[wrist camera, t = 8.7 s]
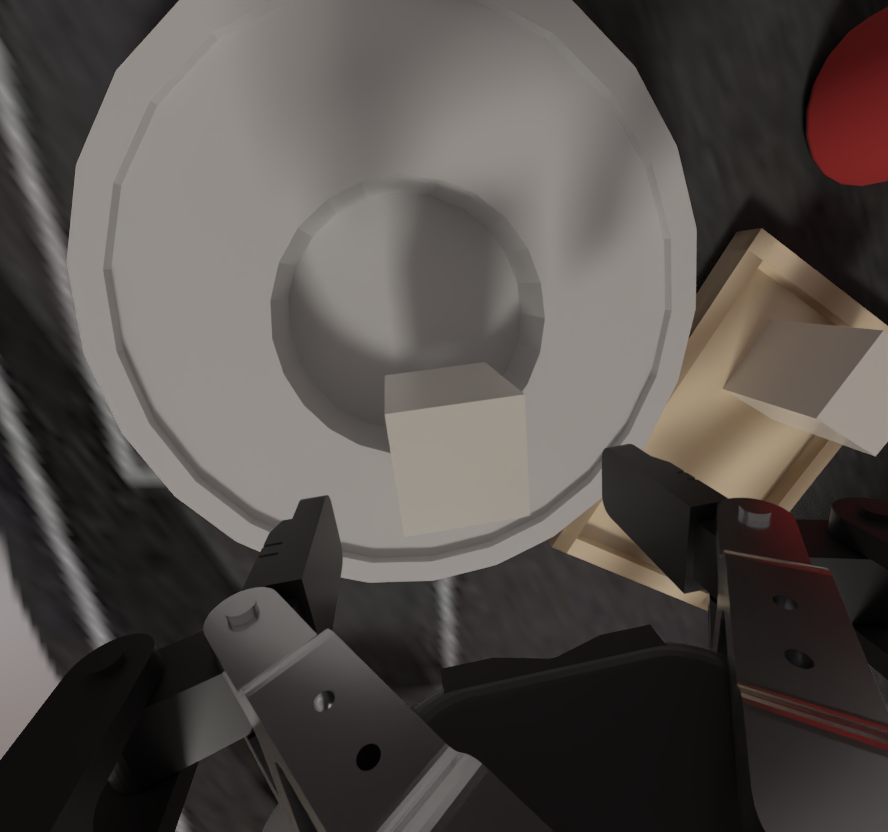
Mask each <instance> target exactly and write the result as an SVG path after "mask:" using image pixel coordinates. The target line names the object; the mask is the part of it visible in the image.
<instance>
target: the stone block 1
mask: <svg viewBox="0 0 888 832" xmlns="http://www.w3.org/2000/svg"><path fill="white" fill-rule="evenodd" d="M384 414H385V421H386V427H387V433H388V440H389V446H390V452H391V458H392V465H393V471H394V477H395V483H396V490H397V496H398V502H399V508H400V515H401V521H402V527H403V534H404V537H409V536H415V535H421V534H427V533H433V532H438V531H444V530H450V529H456V528H462V527H468V526H474V525H480V524H486V523H491V522H497V521H503V520H509V519H515V518H521V517H527V516H530V500H529V477H528V455H527V432H526V409H525V394H524V393H522V392H521V391H520V390H519V389H518V388H516V387H515V386H514V385H513V384H511V383H510V382H509V381H508V380H506V379H505V378H504V377H503V376H501V375H500V374H499V373H498V372H497V371H495V370H494V369H493V368H492V367H490V366H489V365H488V364H487V363H485V362H483V363H475V364H468V365H460V366H453V367H445V368H437V369H430V370H422V371H415V372H407V373H400V374H392V375H385V408H384Z"/></svg>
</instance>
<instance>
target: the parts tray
mask: <svg viewBox="0 0 888 832" xmlns="http://www.w3.org/2000/svg"><path fill="white" fill-rule="evenodd" d="M770 320H781V321H791V322H802V323H812V324H822V325H832V326H843V327H853V328H863V329H873V330H884V331H885V332H886V333H887V334H888V326H887V325H886V324H885V323H883V322H882V321H881V320H879V319H878V318H877V317H876V316H874V315H873V314H872V313H870V312H869V311H868V310H867V309H865V308H864V307H863V306H861V305H860V304H859V303H858V302H856V301H855V300H854V299H852V298H851V297H850V296H849V295H847V294H846V293H845V292H843V291H842V290H841V289H840V288H838V287H837V286H836V285H834V284H833V283H832V282H831V281H829V280H828V279H827V278H825V277H824V276H823V275H822V274H820V273H819V272H818V271H816V270H815V269H814V268H813V267H811V266H810V265H809V264H807V263H806V262H805V261H804V260H802V259H801V258H800V257H798V256H797V255H796V254H795V253H793V252H792V251H791V250H789V249H788V248H787V247H786V246H784V245H783V244H782V243H780V242H779V241H778V240H777V239H775V238H774V237H773V236H771V235H770V234H769V233H768V232H766V231H765V230H764V229H762V228H759V229H752V230H745V231H738V232H736V234H735V235H734V237H733V238H732V240H731V241H730V243H729V244H728V246H727V248H726V249H725V251H724V252H723V254H722V255H721V257H720V258H719V260H718V261H717V263H716V265H715V266H714V268H713V269H712V271H711V272H710V274H709V275H708V277H707V279H706V280H705V282H704V283H703V285H702V286H701V288H700V289H699V291H698V292H697V294H696V310H695V314H694V318H693V322H692V326H691V330H690V334H689V338H688V342H687V347H686V351H685V355H684V359H683V363H682V367H681V371H680V375H679V379H678V382H677V384H676V386H675V388H674V390H673V392H672V394H671V396H670V398H669V400H668V402H667V404H666V406H665V408H664V410H663V412H662V414H661V416H660V418H659V420H658V422H657V424H656V426H655V428H654V430H653V432H652V434H651V436H650V438H649V440H648V442H647V444H646V445H645V446H644V448H643V449H642V451H644V452H646V453H647V454H649V455H650V456H653V457H656V458H659V459H662V460H665V461H668V462H671V463H672V464H674V465H675V466H677V467H679V468H680V469H682V470H683V471H684V473H686V472H687V473H688V474H690V475H692V476H693V477H695V480H697V479H698V480H700V481H701V482H703V483H704V484H706V485H708V486H709V487H711V488H712V489H714V490H716V491H717V492H719V493H720V494H722V495H724V496H725V497H727V498H728V499H730V498H753V499H759V500H763V501H767V502H770V503H773V504H776V505H778V506H780V507H782V508H784V509H786V510H787V511H788V512H790V510H791V509H792V508H793V507H794V505H795V504H796V503H797V502H798V500H799V499H800V498H801V497H802V495H803V494H804V493H805V491H806V490H807V489H808V488H809V486H810V485H811V484H812V483H813V481H814V480H815V479H816V478H817V476H818V475H819V474H820V473H821V471H822V470H823V469H824V468H825V466H826V465H827V464H828V463H829V461H830V460H831V459H832V457H833V456H834V455H835V454H836V452H837V451H838V450H839V449H840V447H841V446H842V444H839V443H836V442H833V441H831V440H828V439H825V438H822V437H819V436H817V435H814V434H811V433H808V432H805V431H803V430H800V429H797V428H794V427H791V426H789V425H786V424H783V423H780V422H777V421H774V420H773V419H771V418H769V417H768V416H766V415H764V414H763V413H761V412H759V411H758V410H756V409H755V408H753V407H751V406H750V405H748V404H746V403H745V402H743V401H741V400H740V399H738V398H736V397H735V396H733V395H732V394H730V393H728V392H727V391H725V390H723V388H724V386H725V385H726V383H727V382H728V380H729V379H730V377H731V376H732V375H733V373H734V372H735V370H736V369H737V367H738V366H739V365H740V363H741V362H742V360H743V359H744V357H745V356H746V355H747V353H748V352H749V350H750V349H751V347H752V346H753V344H754V343H755V342H756V340H757V339H758V337H759V336H760V334H761V333H762V332H763V330H764V329H765V327H766V326H767V324H768V323H769V322H770ZM547 540H548V542H549V543H550V545H551V547H553V548H555V549H558V550H560V551H563V552H565V553H568V554H570V555H572V556H575V557H577V558H580V559H582V560H585V561H587V562H590V563H592V564H594V565H597V566H599V567H602V568H604V569H607V570H609V571H612V572H614V573H616V574H619V575H621V576H624V577H626V578H629V579H631V580H634V581H636V582H638V583H641V584H643V585H646V586H648V587H651V588H653V589H656V590H658V591H660V592H663V593H665V594H668V595H670V596H673V597H675V598H678V599H680V600H682V601H685V602H687V603H690V604H692V605H695V606H697V607H699V608H702V609H704V610H707V611H708V596H709V592H707V591H706V590H701V591H696V592H691V593H686V594H684V593H683V592H682V591H681V590H680V589H679V588H678V587H677V586H676V585H675V584H674V583H673V582H672V581H671V580H670V579H669V578H668V577H667V576H666V575H665V574H664V573H663V572H662V571H661V569H660V568H659V567H658V566H657V565H656V564H655V563H654V562H653V561H652V560H651V559H650V558H649V557H648V556H647V555H646V554H645V553H644V552H643V551H642V550H641V549H640V548H639V547H638V546H637V545H636V544H635V543H634V542H633V540H632V539H631V538H630V537H629V536H628V535H627V534H626V533H625V532H624V531H623V530H622V529H621V528H620V527H619V526H618V525H617V524H616V523H615V522H614V521H613V520H612V519H611V518H610V516H609V515H608V514H607V512H606V510H605V507H604V504H603V500H602V498H601V499H600V500H599V501H597V502H596V503H595V504H594V505H592V506H591V507H590V508H589V509H587V510H586V511H585V512H584V513H582V514H581V515H580V516H579V517H577V518H576V519H575V520H574V521H572V522H571V523H570V524H569V525H567V526H566V527H565V528H564V529H562V530H561V531H560V532H559V533H557V534H556V535H555V536H553V537H551V538H549V539H547Z"/></svg>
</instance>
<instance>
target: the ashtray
mask: <svg viewBox="0 0 888 832" xmlns="http://www.w3.org/2000/svg"><path fill="white" fill-rule="evenodd" d="M696 238H697V229H696V225H695V220H694V216H693V212H692V208H691V203H690V199H689V195H688V190H687V186H686V182H685V178H684V173H683V169H682V165H681V161H680V156H679V152H678V148H677V145H676V143H675V142H674V140H673V138H672V136H671V134H670V132H669V130H668V128H667V126H666V124H665V123H664V121H663V119H662V117H661V115H660V113H659V111H658V109H657V107H656V105H655V104H654V102H653V100H652V98H651V96H650V94H649V92H648V90H647V88H646V86H645V85H644V83H643V81H642V79H641V77H640V75H639V73H638V71H637V69H636V67H635V66H634V65H633V64H632V63H631V62H630V61H629V60H628V59H627V58H626V57H625V56H624V54H623V53H622V52H621V51H620V50H619V49H618V48H617V47H616V46H615V45H614V44H613V43H612V42H611V41H610V40H609V39H608V38H607V37H606V35H605V34H604V33H603V32H602V31H601V30H600V29H599V28H598V27H597V26H596V25H595V24H594V23H593V22H592V21H591V20H590V19H589V18H588V16H587V15H586V14H585V13H584V12H583V11H582V10H581V9H580V8H579V7H578V6H577V5H576V4H575V3H574V2H573V1H572V0H179V1H178V2H177V3H176V4H175V5H174V7H173V8H172V9H171V10H170V11H169V12H168V13H167V14H166V15H165V17H164V18H163V19H162V20H161V21H160V22H159V23H158V24H157V26H156V27H155V28H154V29H153V30H152V31H151V32H150V33H149V34H148V36H147V37H146V38H145V39H144V40H143V41H142V42H141V43H140V44H139V46H138V47H137V48H136V49H135V50H134V51H133V52H132V53H131V54H130V56H129V57H128V58H127V59H126V60H125V61H124V62H123V63H122V65H121V66H120V67H119V68H118V69H117V70H116V72H115V74H114V77H113V79H112V81H111V84H110V86H109V88H108V91H107V93H106V96H105V98H104V100H103V103H102V105H101V107H100V110H99V112H98V114H97V117H96V119H95V121H94V124H93V126H92V128H91V131H90V133H89V135H88V138H87V140H86V142H85V145H84V147H83V150H82V152H81V154H80V157H79V159H78V161H77V164H76V171H75V181H74V191H73V202H72V212H71V222H70V233H69V243H68V253H67V267H68V273H69V278H70V283H71V289H72V294H73V299H74V305H75V310H76V315H77V321H78V326H79V331H80V336H81V342H82V347H83V352H84V356H85V358H86V360H87V362H88V364H89V366H90V368H91V370H92V372H93V374H94V376H95V378H96V381H97V383H98V385H99V387H100V389H101V391H102V393H103V395H104V397H105V399H106V401H107V403H108V405H109V408H110V410H111V412H112V414H113V416H114V418H115V420H116V422H117V424H118V426H119V428H120V430H121V432H122V434H123V435H124V436H125V438H126V439H127V440H128V441H129V442H130V444H131V445H132V446H133V447H134V448H135V450H136V451H137V452H138V453H139V454H140V455H141V457H142V458H143V459H144V460H145V461H146V463H147V464H148V465H149V466H150V467H151V469H152V470H153V471H154V472H155V473H156V475H157V476H158V477H159V478H160V479H161V481H162V482H163V483H164V484H165V485H166V487H167V488H168V489H169V490H170V491H171V492H172V494H173V495H174V496H175V497H176V498H178V499H179V500H181V501H182V502H183V503H185V504H186V505H187V506H189V507H190V508H191V509H193V510H194V511H195V512H197V513H198V514H199V515H201V516H202V517H203V518H205V519H206V520H208V521H209V522H210V523H212V524H213V525H214V526H216V527H217V528H218V529H220V530H221V531H222V532H224V533H225V534H226V535H228V536H229V537H231V538H232V539H233V540H235V541H236V542H238V543H241V544H243V545H245V546H248V547H250V548H252V549H254V550H257V551H259V552H261V549H262V548H264V543H265V541H266V539H267V537H268V535H269V533H270V532H271V531H272V530H273V529H274V528H275V527H276V526H277V525H278V524H279V523H280V522H281V521H282V520H288V519H292V518H293V516H294V513H295V511H296V508H297V506H298V503H299V501H300V500H301V499H307V498H312V497H318V496H324V495H328V496H329V497H330V500H331V503H332V507H333V511H334V516H335V520H336V524H337V528H338V533H339V537H340V541H341V546H342V556H343V564H342V571H341V577H342V578H347V579H352V580H358V581H363V582H368V583H372V582H403V581H434V580H438V579H442V578H446V577H450V576H454V575H458V574H462V573H466V572H470V571H474V570H478V569H482V568H486V567H490V566H494V565H497V564H499V563H501V562H503V561H505V560H507V559H509V558H511V557H513V556H515V555H517V554H519V553H521V552H523V551H525V550H527V549H529V548H531V547H533V546H535V545H537V544H539V543H541V542H543V541H545V540H547V539H549V538H551V537H553V536H555V535H556V534H557V533H559V532H560V531H561V530H562V529H564V528H565V527H566V526H567V525H569V524H570V523H571V522H572V521H574V520H575V519H576V518H577V517H579V516H580V515H581V514H582V513H584V512H585V511H586V510H587V509H589V508H590V507H591V506H592V505H594V504H595V503H596V502H597V501H599V500H600V499H601V498H602V453H603V450H604V449H605V448H608V447H613V446H619V445H625V444H633V445H635V446H636V447H638V448H639V449H641V450H642V449H643V448H644V446H645V445H646V444H647V442H648V440H649V438H650V436H651V434H652V432H653V430H654V428H655V426H656V424H657V422H658V420H659V418H660V416H661V414H662V412H663V410H664V408H665V406H666V404H667V402H668V400H669V398H670V396H671V394H672V392H673V390H674V388H675V386H676V384H677V382H678V379H679V375H680V371H681V367H682V363H683V359H684V355H685V351H686V347H687V342H688V338H689V334H690V330H691V326H692V322H693V318H694V314H695V310H696ZM483 362H485V363H487V364H488V365H489V366H490V367H492V368H493V369H494V370H495V371H497V372H498V373H499V374H500V375H501V376H503V377H504V378H505V379H506V380H508V381H509V382H510V383H511V384H513V385H514V386H515V387H516V388H518V389H519V390H520V391H521V392H522V393H524V394H525V409H526V432H527V455H528V477H529V500H530V516H527V517H521V518H515V519H509V520H503V521H497V522H491V523H486V524H480V525H474V526H468V527H462V528H456V529H450V530H444V531H438V532H433V533H427V534H421V535H415V536H409V537H404V534H403V527H402V521H401V515H400V508H399V502H398V496H397V490H396V483H395V477H394V471H393V465H392V458H391V452H390V446H389V440H388V433H387V427H386V421H385V414H384V408H385V375H392V374H400V373H407V372H415V371H422V370H430V369H437V368H445V367H453V366H460V365H468V364H475V363H483Z"/></svg>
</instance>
